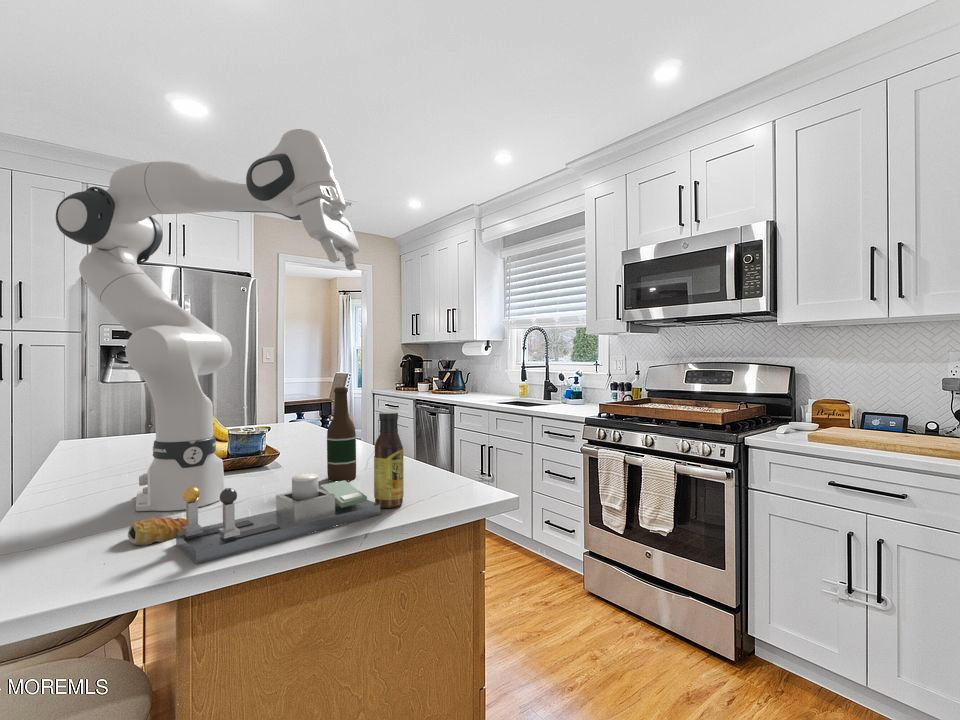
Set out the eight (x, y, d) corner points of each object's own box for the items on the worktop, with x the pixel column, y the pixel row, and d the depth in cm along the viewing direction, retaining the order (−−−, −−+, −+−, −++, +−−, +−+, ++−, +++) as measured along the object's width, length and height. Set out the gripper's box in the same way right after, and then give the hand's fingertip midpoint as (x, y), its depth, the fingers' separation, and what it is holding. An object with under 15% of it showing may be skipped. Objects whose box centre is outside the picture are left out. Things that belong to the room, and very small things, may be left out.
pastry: (183, 526, 96) (182, 507, 96) (196, 535, 91) (196, 514, 91) (124, 540, 89) (124, 519, 89) (136, 550, 84) (135, 528, 84)
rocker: (319, 489, 103) (320, 483, 103) (344, 484, 107) (344, 478, 107) (341, 507, 97) (342, 501, 96) (366, 501, 101) (367, 495, 100)
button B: (287, 499, 96) (287, 476, 96) (311, 494, 99) (311, 472, 99) (298, 504, 93) (298, 481, 93) (323, 499, 96) (322, 476, 96)
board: (176, 544, 86) (175, 512, 86) (350, 502, 109) (350, 477, 109) (196, 564, 78) (195, 528, 78) (380, 514, 101) (380, 487, 101)
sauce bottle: (397, 510, 104) (396, 414, 104) (369, 508, 105) (368, 414, 105) (408, 501, 110) (407, 411, 110) (381, 499, 111) (380, 410, 111)
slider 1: (180, 531, 84) (180, 486, 84) (198, 528, 86) (197, 484, 86) (186, 536, 82) (185, 490, 82) (203, 532, 84) (203, 487, 84)
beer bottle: (321, 481, 129) (319, 388, 128) (334, 474, 136) (333, 386, 136) (349, 482, 127) (348, 388, 127) (362, 475, 135) (360, 386, 135)
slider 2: (217, 533, 83) (216, 488, 83) (233, 529, 85) (233, 485, 85) (223, 538, 81) (223, 491, 81) (240, 534, 83) (239, 488, 83)
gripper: (330, 222, 117) (348, 278, 117) (286, 194, 97) (309, 261, 97) (354, 213, 117) (373, 268, 116) (316, 183, 96) (338, 250, 96)
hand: (344, 265), depth 106 cm, fingers open, 8 cm apart
